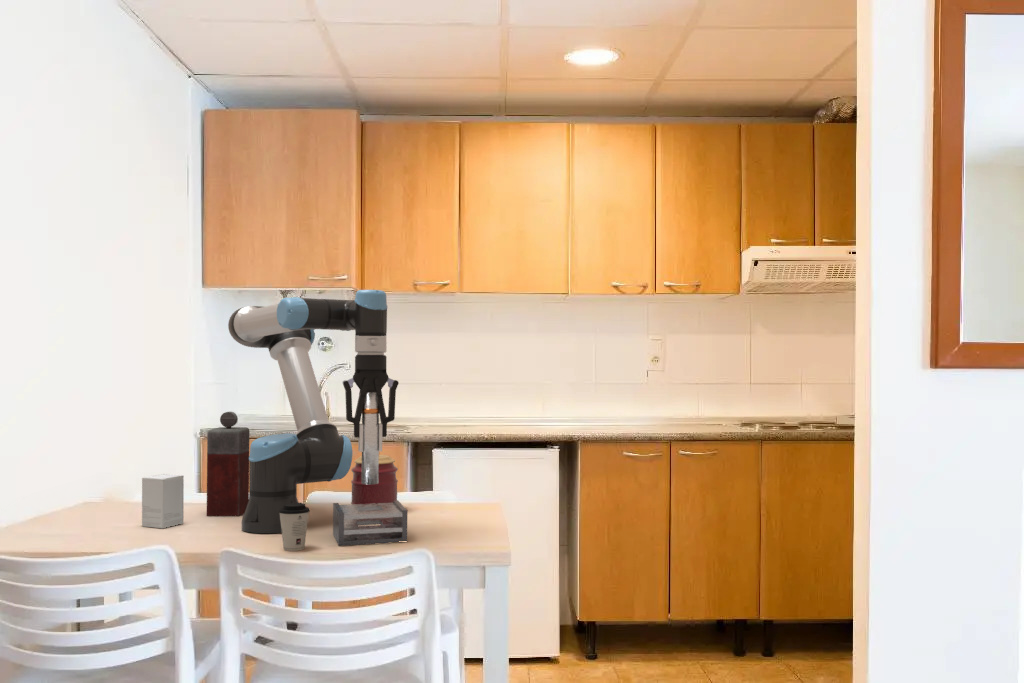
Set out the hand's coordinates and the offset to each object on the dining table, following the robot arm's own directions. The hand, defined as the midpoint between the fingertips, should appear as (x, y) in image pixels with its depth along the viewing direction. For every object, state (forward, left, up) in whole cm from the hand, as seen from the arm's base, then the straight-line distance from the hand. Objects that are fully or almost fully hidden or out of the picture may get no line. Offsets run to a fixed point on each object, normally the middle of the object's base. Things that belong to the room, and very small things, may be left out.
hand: (370, 450), depth 212 cm
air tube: (0, 0, -8) cm, 8 cm away
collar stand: (0, 0, -21) cm, 21 cm away
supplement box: (-49, +29, -21) cm, 61 cm away
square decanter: (-33, +43, -21) cm, 58 cm away
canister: (+6, +35, -21) cm, 41 cm away
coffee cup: (-18, -7, -21) cm, 29 cm away
